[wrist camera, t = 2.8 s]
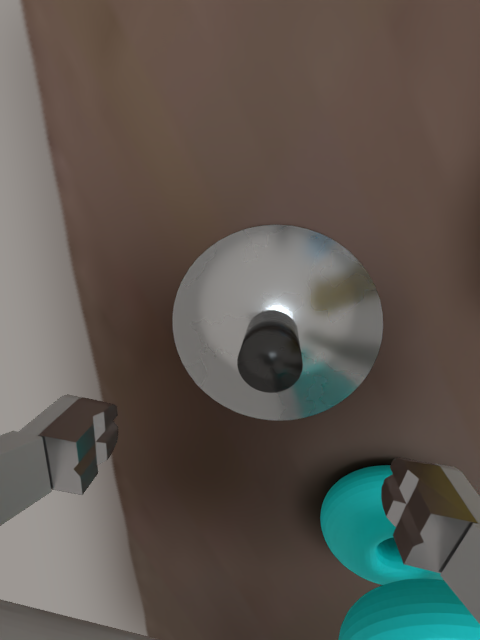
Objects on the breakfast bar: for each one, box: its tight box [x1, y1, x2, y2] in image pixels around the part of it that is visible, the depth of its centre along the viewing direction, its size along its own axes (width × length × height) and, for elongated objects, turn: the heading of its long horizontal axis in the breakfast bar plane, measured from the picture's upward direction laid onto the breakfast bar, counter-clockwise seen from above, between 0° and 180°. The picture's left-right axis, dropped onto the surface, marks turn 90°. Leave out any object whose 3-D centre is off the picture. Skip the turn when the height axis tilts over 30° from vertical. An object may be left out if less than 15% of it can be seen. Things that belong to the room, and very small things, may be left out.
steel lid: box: [172, 225, 383, 421], centre depth 16 cm, size 13×13×5 cm
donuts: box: [320, 465, 480, 640], centre depth 17 cm, size 10×10×10 cm
